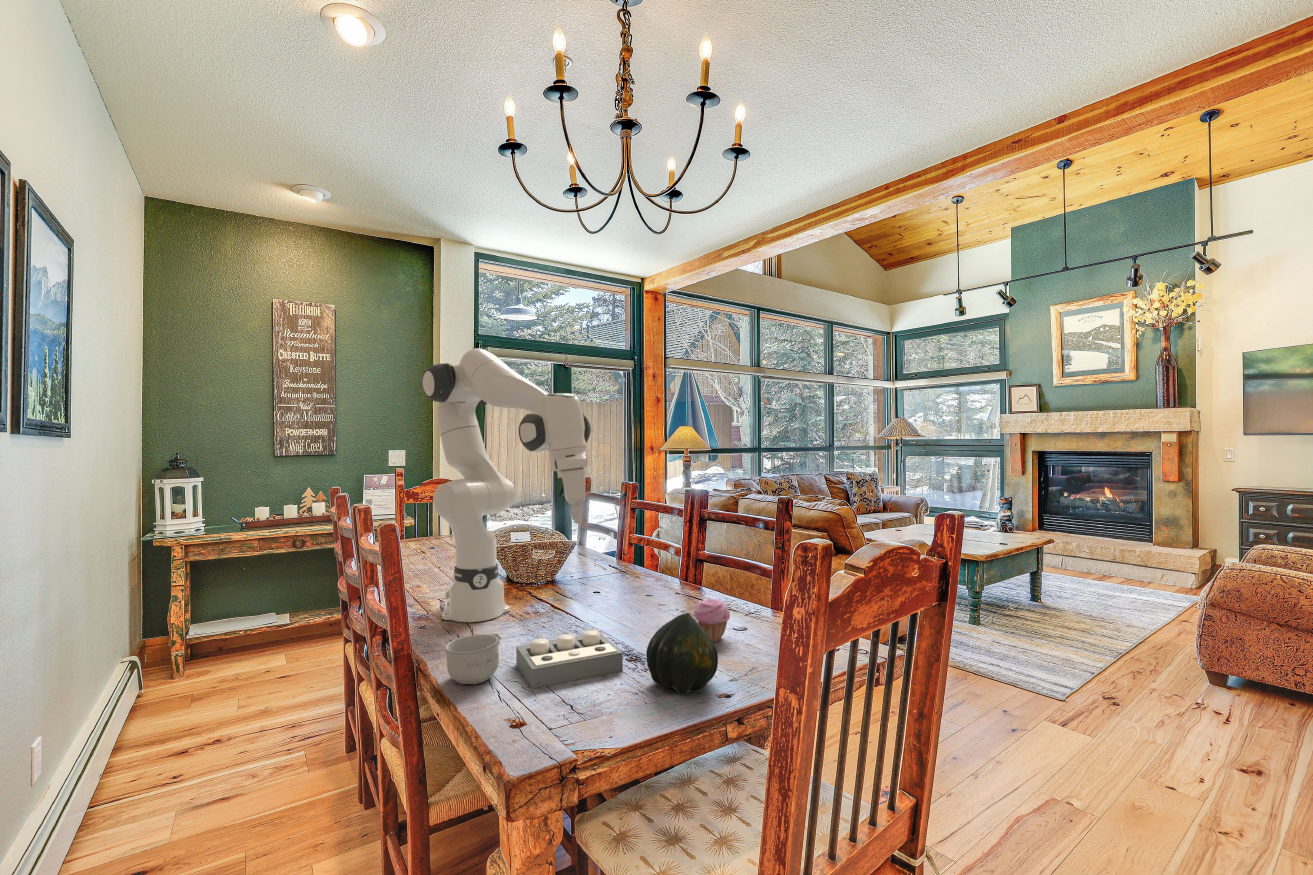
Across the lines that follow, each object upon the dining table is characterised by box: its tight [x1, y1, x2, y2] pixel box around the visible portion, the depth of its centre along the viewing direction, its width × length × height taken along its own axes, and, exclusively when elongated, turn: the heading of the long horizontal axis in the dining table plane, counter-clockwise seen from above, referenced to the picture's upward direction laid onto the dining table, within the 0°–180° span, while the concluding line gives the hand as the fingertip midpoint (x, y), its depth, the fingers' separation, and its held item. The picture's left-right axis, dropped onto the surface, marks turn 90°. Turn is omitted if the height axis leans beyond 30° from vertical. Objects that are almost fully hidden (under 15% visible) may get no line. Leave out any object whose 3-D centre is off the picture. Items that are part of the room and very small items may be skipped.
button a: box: [529, 638, 550, 657], centre depth 129 cm, size 4×4×3 cm
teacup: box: [444, 631, 501, 685], centre depth 126 cm, size 14×11×8 cm
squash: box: [645, 612, 719, 696], centre depth 121 cm, size 14×15×15 cm
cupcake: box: [693, 598, 731, 643], centre depth 148 cm, size 9×9×10 cm
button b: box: [556, 633, 576, 652], centre depth 132 cm, size 4×4×3 cm
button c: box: [581, 629, 601, 647], centre depth 135 cm, size 4×4×3 cm
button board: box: [515, 632, 624, 690], centre depth 130 cm, size 14×20×4 cm
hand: (577, 521), depth 135 cm, fingers open, 8 cm apart
